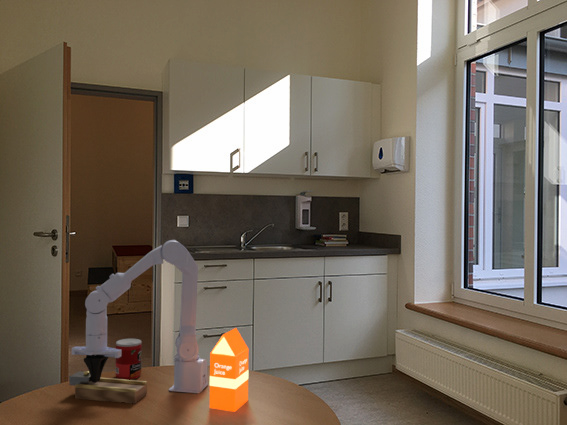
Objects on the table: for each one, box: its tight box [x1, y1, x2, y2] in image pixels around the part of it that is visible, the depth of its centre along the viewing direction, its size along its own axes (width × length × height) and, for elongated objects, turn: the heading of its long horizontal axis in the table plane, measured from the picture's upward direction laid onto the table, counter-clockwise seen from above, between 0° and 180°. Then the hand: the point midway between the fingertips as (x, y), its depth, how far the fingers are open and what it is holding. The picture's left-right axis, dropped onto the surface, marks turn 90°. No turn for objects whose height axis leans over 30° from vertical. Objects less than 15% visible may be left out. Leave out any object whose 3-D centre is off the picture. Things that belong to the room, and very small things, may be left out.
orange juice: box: [209, 327, 250, 413], centre depth 135 cm, size 8×9×20 cm
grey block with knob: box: [68, 370, 96, 386], centre depth 141 cm, size 6×4×3 cm
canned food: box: [115, 338, 143, 380], centre depth 157 cm, size 8×8×11 cm
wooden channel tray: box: [74, 376, 148, 405], centre depth 139 cm, size 18×7×4 cm, turn 79°
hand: (96, 381), depth 140 cm, fingers closed
